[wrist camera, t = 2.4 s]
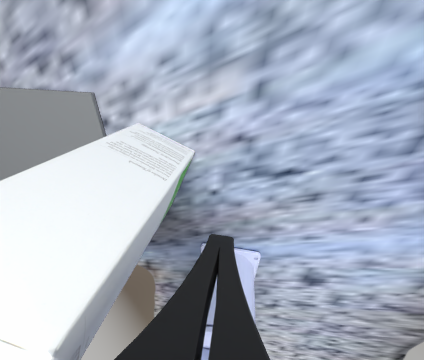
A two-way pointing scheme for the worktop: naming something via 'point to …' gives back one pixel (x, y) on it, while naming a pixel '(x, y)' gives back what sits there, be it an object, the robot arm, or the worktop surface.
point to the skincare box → (79, 237)
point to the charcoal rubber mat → (44, 126)
